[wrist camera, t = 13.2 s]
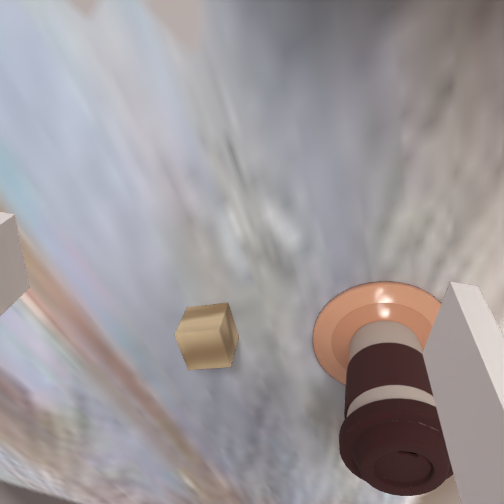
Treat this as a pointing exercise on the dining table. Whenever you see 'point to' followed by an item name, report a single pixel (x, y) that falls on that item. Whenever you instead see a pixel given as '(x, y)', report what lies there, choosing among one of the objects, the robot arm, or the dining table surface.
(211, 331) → the tan cube
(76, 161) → the dining table surface
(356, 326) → the saucer
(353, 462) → the coffee cup
